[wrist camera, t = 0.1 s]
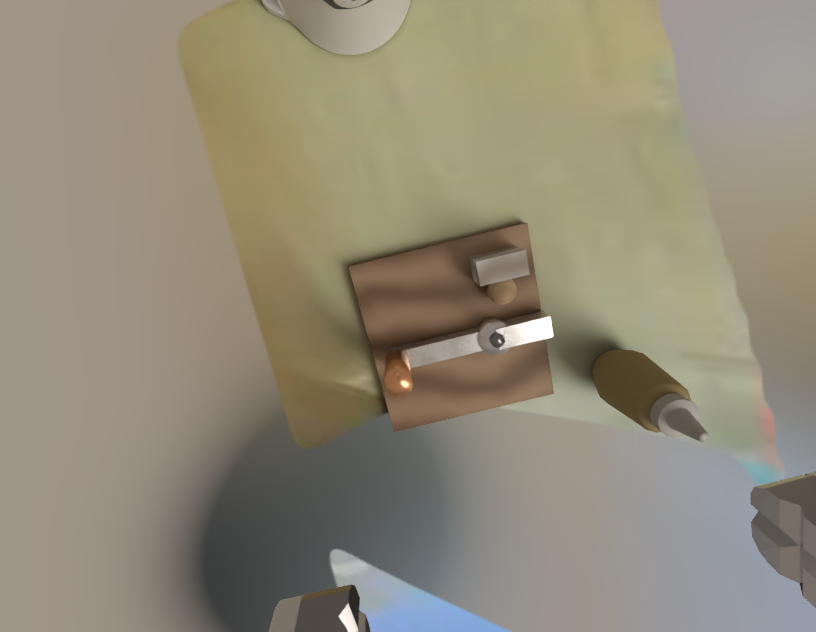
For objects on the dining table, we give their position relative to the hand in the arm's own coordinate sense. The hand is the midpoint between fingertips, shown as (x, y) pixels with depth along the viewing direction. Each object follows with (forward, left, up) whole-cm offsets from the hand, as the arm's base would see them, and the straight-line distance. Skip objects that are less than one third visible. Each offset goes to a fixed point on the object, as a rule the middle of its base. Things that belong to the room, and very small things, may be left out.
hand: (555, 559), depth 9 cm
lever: (+12, +4, -46) cm, 48 cm away
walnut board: (+11, +3, -48) cm, 49 cm away
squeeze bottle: (+22, +24, -48) cm, 58 cm away
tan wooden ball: (+6, +10, -47) cm, 48 cm away
